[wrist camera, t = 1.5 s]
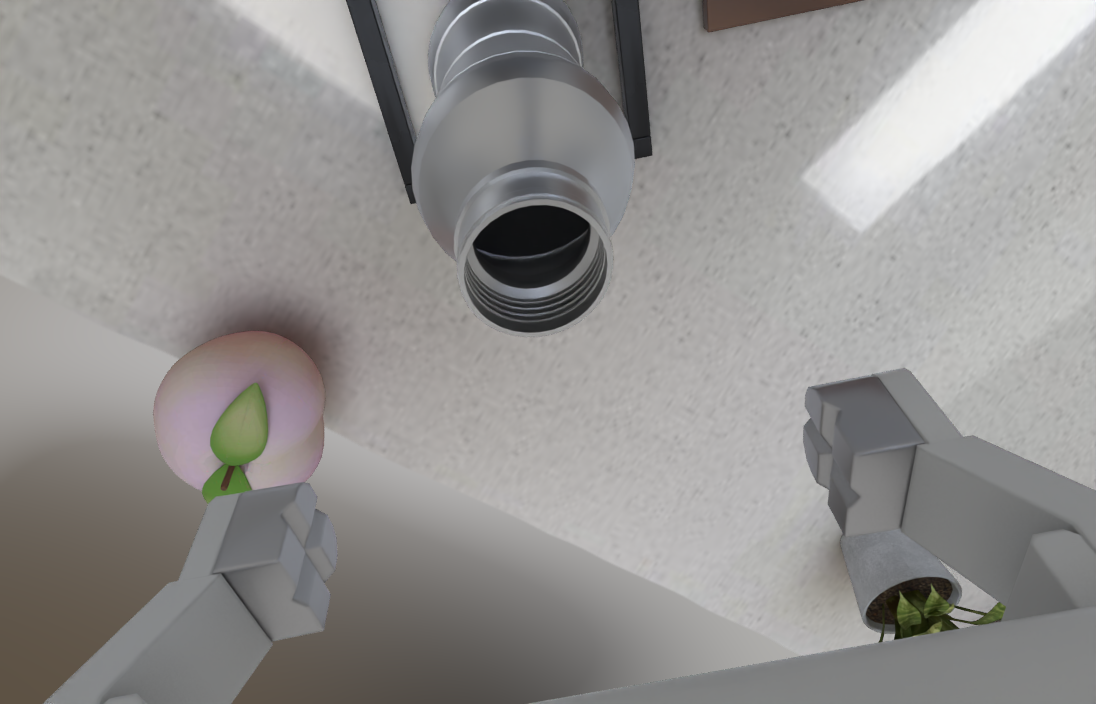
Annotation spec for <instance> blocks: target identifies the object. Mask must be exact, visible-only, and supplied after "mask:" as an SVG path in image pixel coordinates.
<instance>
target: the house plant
mask: <svg viewBox="0 0 1096 704" xmlns="http://www.w3.org/2000/svg"><path fill="white" fill-rule="evenodd" d="M840 544H841V549H842V552H843V555H844V559H845V562H846V566H847V569H848V572H849V576H850V579H851V583H852V586H853V589H854V593H855V596H856V600H857V603H858V606H859V610H860V613H861V617H862V620H863V622H864V624H865V625H866V626H867V627H868V628H870V629H872V630H874V631H876V632H880V633H881V637H880V641H879V642H878V643H880V642H882V641H883V637H884V633H885V634H895V637H894V640H897V639H903V638H909V637H915V636H920V635H926V634H932V633H938V632H943V631H949V630H955V629H959V628H958V627H957V626H956V625H955V624H953V623H952V622H951V621H950V620H954V621H959V622H964V623H969V624H974V625H982V624H989V623H992V622H994V621H997V620H1002V617H1003V614H1004V611H1005V609H1006V606H1004V605H1003V604H1002V603H1000V602H999V603H998V604H997V605H996V606H995V607H994V608H993V609H992V610H991V611H989V612H988V613H984V612H980V611H975V610H970V609H966V608H963V607H959V606H957V604H958V603H959V601H960V598H961V596H962V589H961V586H960V584H959V583H958V581H957V580H956V579H955V578H954V577H953V575H952V574H951V573H950V572H949V571H948V570H947V569H946V567H945V566H944V565H943V564H942V563H941V562H940V561H939V560H938V558H937V557H936V556H934V555H933V554H931V553H930V552H929V551H927V550H926V549H924V548H923V547H922V546H920V545H919V544H917V543H916V542H915V541H913V540H912V539H910V538H909V537H908V536H906V535H905V534H903V533H902V532H901V529H897V530H890V531H884V532H877V533H871V534H864V535H857V536H851V537H845V536H844V534H843V536H842V537H841V542H840ZM954 608H958V609H961V610H964V611H969V612H973V613H976V614H980V615H984V616H983V617H982V618H980V619H979V620H977V621H972V622H970V621H964V620H959V619H954V618H952V617H951V616H949V615H948V614H949V613H951V611H952V610H953V609H954Z"/></svg>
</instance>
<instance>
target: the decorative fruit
mask: <svg viewBox="0 0 1096 704" xmlns="http://www.w3.org/2000/svg"><path fill="white" fill-rule="evenodd" d="M325 400H326V397H325V387H324V383H323V380H322V377H321V374H320V372H319V370H318V369H317V367H316V365H315V364H314V362H313V361H312V359H311V358H310V357H309V356H308V355H307V353H306V352H305V351H303V350H302V349H301V348H300V347H299V346H298V345H296V344H295V343H294V342H292V341H290V340H288V339H287V338H285V337H282V336H280V335H277V334H274V333H271V332H264V331H244V332H238V333H233V334H228V335H225V336H221V337H218V338H215V339H213V340H210V341H208V342H206V343H204V344H202V345H200V346H198V347H197V348H195V349H194V350H192V351H190V352H189V353H187V354H186V355H184V356H183V357H182V358H181V359H179V360H178V361H177V362H176V363H175V364H174V365H173V366H172V367H171V369H170V370H169V371H168V372H167V374H166V376H165V377H164V379H163V381H162V383H161V385H160V387H159V389H158V391H157V394H156V397H155V401H154V410H153V416H154V426H155V433H156V438H157V442H158V446H159V449H160V452H161V454H162V456H163V458H164V459H165V461H166V463H167V464H168V466H169V467H170V468H171V469H172V471H174V473H175V474H176V475H177V476H178V477H180V478H181V479H182V480H183V481H185V482H187V483H188V484H189V485H191V486H193V487H195V488H197V489H199V490H201V491H202V494H203V497H204V499H205V500H206V502H207V503H208V504H209V502H211V501H212V500H213V499H214V498H215V497H218V496H224V495H231V494H237V493H244V492H245V491H251V490H257V489H263V488H270V487H276V486H282V485H288V484H294V483H300V482H305V481H306V480H307V479H308V478H309V477H310V476H311V475H312V474H313V472H314V471H315V469H316V468H317V466H318V464H319V462H320V459H321V457H322V452H323V447H324V421H323V410H324V407H325Z"/></svg>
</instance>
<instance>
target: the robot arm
mask: <svg viewBox="0 0 1096 704" xmlns="http://www.w3.org/2000/svg"><path fill="white" fill-rule="evenodd" d="M805 408H806V409H807V411H808V413H809V415H810V417H811V418H810V419H809V421H808V422H807V423H806V424H805V425H804V430H803V443H804V448H805V454H806V459H807V462H808V464H809V467H810V470H811V472H812V474H813V476H814V478H815V480H816V482H817V483H818V484H820V485H822V486H823V487H825V488H827V489H828V490H829V496H828V505H829V507H830V509H831V511H832V513H833V515H834V517H835V519H836V521H837V523H838V524H839V526H840V528H841V530H842V532H843V534H844V536H845V537H851V536H857V535H864V534H871V533H877V532H884V531H890V530H897V529H901V532H902V533H903V534H905V535H906V536H908V537H909V538H910V539H912V540H913V541H915V542H916V543H917V544H919V545H920V546H922V547H923V548H924V549H926V550H927V551H929V552H930V553H931V554H933V555H934V556H936V557H937V558H938V559H940V560H941V561H943V562H944V563H945V564H947V565H948V566H950V567H951V568H952V569H954V570H955V571H957V572H958V573H959V574H961V575H962V576H964V577H965V578H966V579H968V580H969V581H971V582H972V583H973V584H975V585H976V586H978V587H979V588H980V589H982V590H983V591H985V592H986V593H987V594H989V595H990V596H992V597H993V598H995V599H996V600H997V601H999V602H1000V603H1002V604H1003V605H1004V606H1006V609H1005V611H1004V614H1003V617H1002V620H1001V622H995V623H990V624H984V625H978V626H972V627H967V628H961V629H955V630H949V631H943V632H938V633H932V634H926V635H920V636H915V637H909V638H903V639H897V640H891V641H886V642H880V643H874V644H868V645H863V646H857V647H851V648H845V649H839V650H834V651H828V652H822V653H816V654H811V655H805V656H799V657H794V658H788V659H782V660H776V661H771V662H765V663H759V664H753V665H748V666H742V667H736V668H731V669H725V670H719V671H713V672H708V673H702V674H696V675H690V676H685V677H679V678H673V679H668V680H662V681H656V682H650V683H645V684H639V685H633V686H628V687H622V688H616V689H610V690H605V691H599V692H593V693H587V694H581V695H575V696H570V697H564V698H558V699H553V700H547V701H541V702H535V703H529V704H1096V491H1095V490H1093V489H1091V488H1089V487H1087V486H1084V485H1082V484H1080V483H1078V482H1075V481H1073V480H1071V479H1069V478H1067V477H1064V476H1062V475H1060V474H1058V473H1055V472H1053V471H1051V470H1049V469H1047V468H1044V467H1042V466H1040V465H1038V464H1035V463H1033V462H1031V461H1029V460H1027V459H1024V458H1022V457H1020V456H1018V455H1016V454H1013V453H1011V452H1009V451H1007V450H1004V449H1002V448H1000V447H998V446H996V445H993V444H991V443H989V442H987V441H984V440H982V439H980V438H978V437H976V436H973V435H972V436H966V437H963V436H962V435H961V434H960V432H959V431H958V430H957V429H956V427H955V426H954V425H953V424H952V422H951V421H950V420H949V419H948V417H947V416H946V415H945V414H944V412H943V411H942V410H941V409H940V407H939V406H938V405H937V404H936V402H935V401H934V400H933V399H932V397H931V396H930V395H929V394H928V392H927V391H926V390H925V389H924V388H923V386H922V385H921V384H920V383H919V381H918V380H917V379H916V378H915V376H914V375H913V374H912V373H911V371H909V370H907V369H905V368H901V369H896V370H891V371H886V372H881V373H876V374H872V375H871V376H870V375H867V376H862V377H857V378H852V379H847V380H842V381H837V382H831V383H826V384H821V385H816V386H811V387H808V389H807V391H806V394H805ZM316 502H317V495H316V494H315V492H314V490H313V488H312V487H311V485H310V484H309V483H305V482H300V483H294V484H288V485H282V486H276V487H270V488H263V489H257V490H251V491H245V492H244V493H237V494H231V495H224V496H218V497H215V498H214V499H213V500H212V501H211V502H209V504H208V505H207V508H206V510H205V513H204V516H203V518H202V521H201V523H200V526H199V528H198V531H197V533H196V536H195V538H194V541H193V544H192V546H191V549H190V551H189V554H188V557H187V559H186V561H185V564H184V567H183V569H182V572H181V574H180V577H179V579H178V581H175V582H170V583H168V584H167V585H166V586H165V587H164V588H163V589H162V590H161V591H160V592H159V593H158V594H157V595H156V596H155V597H153V598H152V599H151V600H150V601H149V602H148V603H147V604H146V605H145V606H144V607H143V608H142V609H141V610H140V611H139V612H138V613H137V614H136V615H135V616H134V617H133V618H132V619H131V620H130V621H129V622H127V623H126V624H125V625H124V626H123V627H122V628H121V629H120V630H119V631H118V632H117V633H116V634H115V635H114V636H113V637H112V638H111V639H110V640H109V641H108V642H107V643H106V644H105V645H104V646H102V647H101V648H100V649H99V650H98V651H97V652H96V653H95V654H94V655H93V656H92V657H91V658H90V659H89V660H88V661H87V662H86V663H85V664H84V665H83V666H82V667H81V668H80V669H79V670H77V671H76V672H75V673H74V674H73V675H72V676H71V677H70V678H69V679H68V680H67V681H66V682H65V683H64V684H63V685H62V686H61V687H60V688H59V689H58V690H57V691H56V692H55V693H53V695H51V696H50V697H49V698H48V699H47V700H46V701H45V702H44V703H43V704H231V703H232V701H233V700H234V699H235V697H236V696H237V695H238V693H239V692H240V690H241V689H242V688H243V686H244V685H245V683H246V682H247V680H248V679H249V677H250V676H251V675H252V673H253V672H254V671H255V669H256V668H257V666H258V665H259V663H260V662H261V661H262V659H263V658H264V656H265V655H266V654H267V652H268V650H269V649H270V648H271V646H272V645H273V643H272V641H277V640H281V639H286V638H291V637H296V636H301V635H306V634H311V633H315V632H320V631H324V627H325V622H326V616H327V612H328V606H329V601H330V595H331V594H330V592H329V590H328V589H327V587H326V586H325V584H324V583H325V582H326V581H327V580H328V578H329V577H330V576H331V575H332V573H333V572H334V571H335V568H336V562H337V556H338V554H337V538H336V534H335V531H334V528H333V524H332V522H331V520H330V519H329V517H328V515H327V514H325V513H323V512H321V511H319V510H317V509H315V506H316Z"/></svg>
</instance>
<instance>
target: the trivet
mask: <svg viewBox="0 0 1096 704" xmlns="http://www.w3.org/2000/svg"><path fill="white" fill-rule="evenodd" d="M858 1H863V0H703V21H704V29H705V30H706V31H708V32H713V31H718V30H722V29H727V28H732V27H737V26H742V25H747V24H751V23H756V22H761V21H766V20H771V19H776V18H780V17H785V16H790V15H795V14H800V13H805V12H809V11H814V10H819V9H824V8H829V7H834V6H838V5H843V4H848V3H853V2H858Z"/></svg>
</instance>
